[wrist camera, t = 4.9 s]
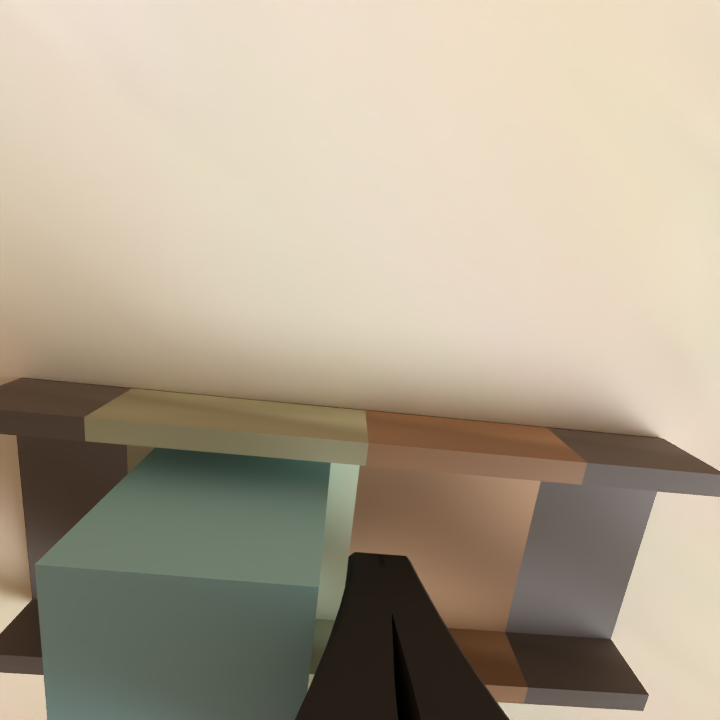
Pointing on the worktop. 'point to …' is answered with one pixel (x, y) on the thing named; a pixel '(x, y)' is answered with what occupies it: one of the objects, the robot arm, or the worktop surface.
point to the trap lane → (394, 516)
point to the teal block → (187, 592)
